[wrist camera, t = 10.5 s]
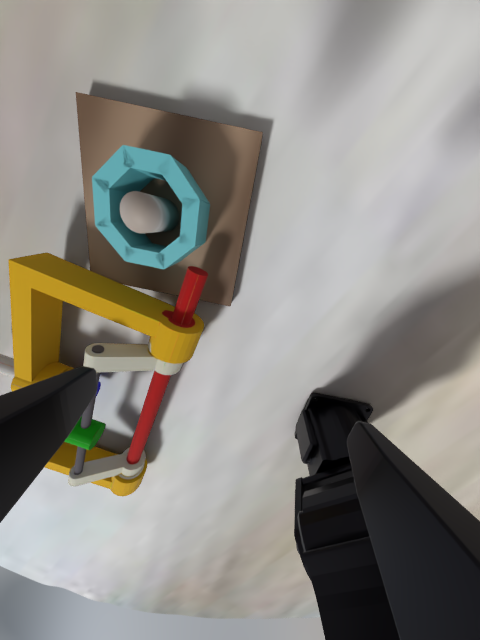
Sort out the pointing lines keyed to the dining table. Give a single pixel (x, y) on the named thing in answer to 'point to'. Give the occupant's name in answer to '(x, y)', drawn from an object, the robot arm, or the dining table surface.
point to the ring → (133, 175)
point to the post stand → (171, 191)
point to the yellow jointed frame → (98, 354)
